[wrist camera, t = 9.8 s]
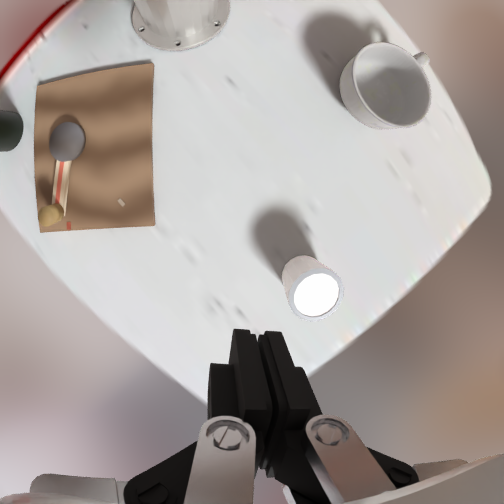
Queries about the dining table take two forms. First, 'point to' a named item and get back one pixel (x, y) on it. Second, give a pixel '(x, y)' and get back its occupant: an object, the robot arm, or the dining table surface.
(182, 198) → the dining table surface
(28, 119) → the dining table surface
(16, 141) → the wine bottle
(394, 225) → the dining table surface
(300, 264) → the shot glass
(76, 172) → the brown cloth
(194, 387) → the dining table surface
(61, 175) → the multicoloured piece
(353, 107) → the teacup
